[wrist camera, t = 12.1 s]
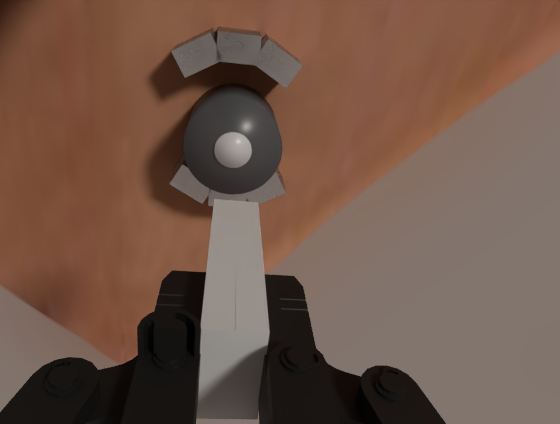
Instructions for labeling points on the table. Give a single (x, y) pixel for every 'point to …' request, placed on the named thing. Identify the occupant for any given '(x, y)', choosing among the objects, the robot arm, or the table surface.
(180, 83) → the table surface
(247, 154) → the cap
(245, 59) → the grey segmented ring
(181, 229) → the table surface
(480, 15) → the table surface
